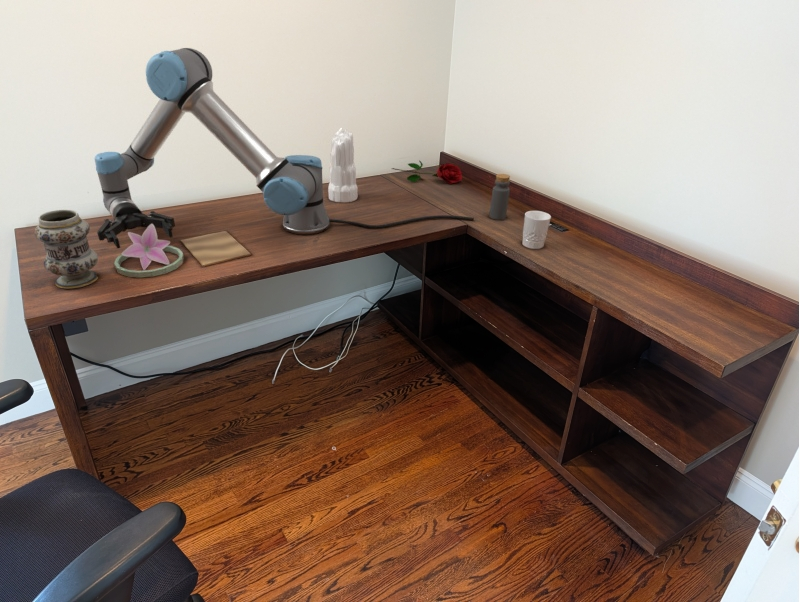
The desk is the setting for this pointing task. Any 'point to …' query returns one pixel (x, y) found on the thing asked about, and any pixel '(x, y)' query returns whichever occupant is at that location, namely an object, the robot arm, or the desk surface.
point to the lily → (147, 247)
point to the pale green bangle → (150, 272)
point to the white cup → (535, 229)
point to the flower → (438, 173)
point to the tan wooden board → (215, 248)
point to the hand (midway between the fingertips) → (144, 238)
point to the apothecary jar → (67, 248)
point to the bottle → (500, 197)
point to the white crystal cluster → (342, 168)
